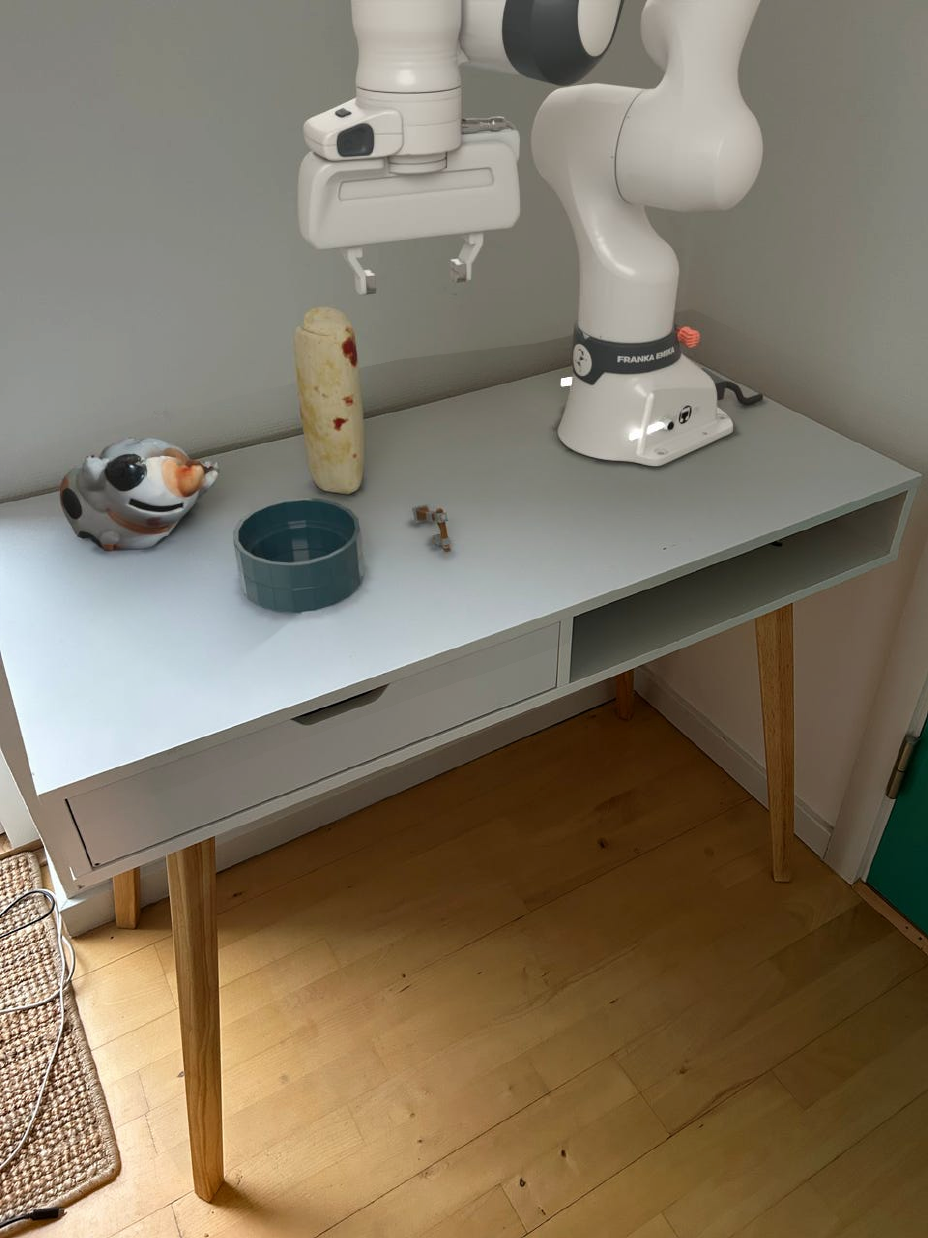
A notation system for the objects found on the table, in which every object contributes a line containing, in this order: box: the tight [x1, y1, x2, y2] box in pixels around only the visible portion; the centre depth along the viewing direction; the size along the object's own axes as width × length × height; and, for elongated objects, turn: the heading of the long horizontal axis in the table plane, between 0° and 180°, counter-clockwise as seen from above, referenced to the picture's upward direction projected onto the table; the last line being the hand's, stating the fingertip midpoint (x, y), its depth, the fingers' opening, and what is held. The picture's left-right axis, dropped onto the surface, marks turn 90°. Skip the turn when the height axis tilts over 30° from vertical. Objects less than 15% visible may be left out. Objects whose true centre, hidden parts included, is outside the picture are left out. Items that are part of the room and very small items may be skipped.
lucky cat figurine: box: [59, 437, 221, 551], centre depth 104 cm, size 15×12×14 cm
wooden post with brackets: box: [411, 503, 451, 553], centre depth 105 cm, size 2×8×4 cm, turn 23°
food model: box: [293, 306, 365, 495], centre depth 109 cm, size 10×7×20 cm
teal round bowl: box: [232, 497, 365, 613], centre depth 98 cm, size 12×12×6 cm
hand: (414, 286), depth 92 cm, fingers open, 8 cm apart
